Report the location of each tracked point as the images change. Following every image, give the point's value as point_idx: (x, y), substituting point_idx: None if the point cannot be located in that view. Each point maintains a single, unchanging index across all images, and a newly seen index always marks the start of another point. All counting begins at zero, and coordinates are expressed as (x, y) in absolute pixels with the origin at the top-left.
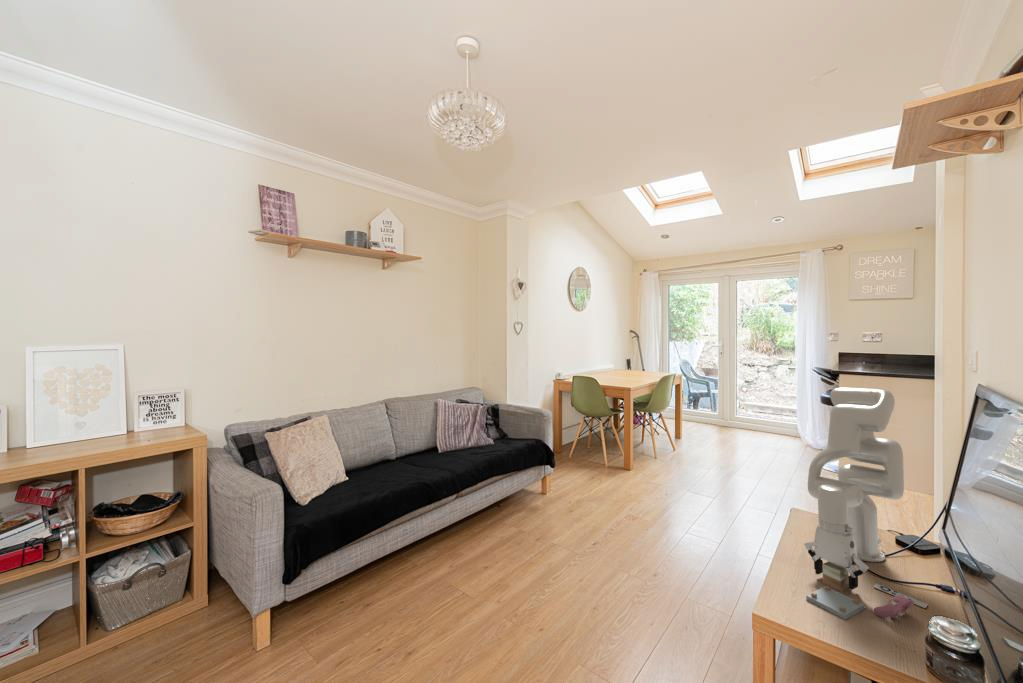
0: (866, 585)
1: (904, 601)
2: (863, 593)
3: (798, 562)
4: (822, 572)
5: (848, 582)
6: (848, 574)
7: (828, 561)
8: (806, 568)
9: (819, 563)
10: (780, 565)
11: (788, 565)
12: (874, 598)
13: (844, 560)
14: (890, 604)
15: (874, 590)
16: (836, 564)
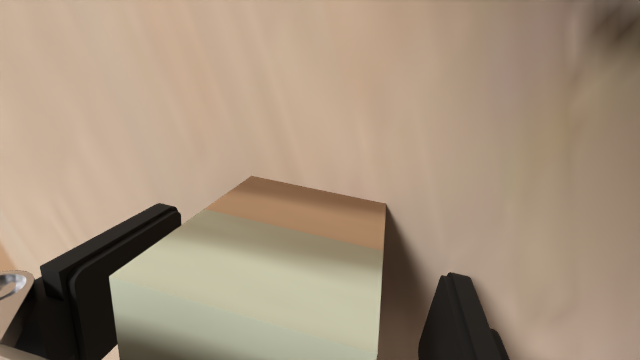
0: (513, 38)
1: None
2: (507, 238)
3: (7, 100)
4: (180, 219)
5: (383, 225)
6: (381, 269)
7: (118, 336)
8: (84, 154)
9: (97, 327)
10: (11, 245)
11: (22, 208)
12: (602, 260)
13: None
14: None
15: (600, 90)
16: (219, 357)
